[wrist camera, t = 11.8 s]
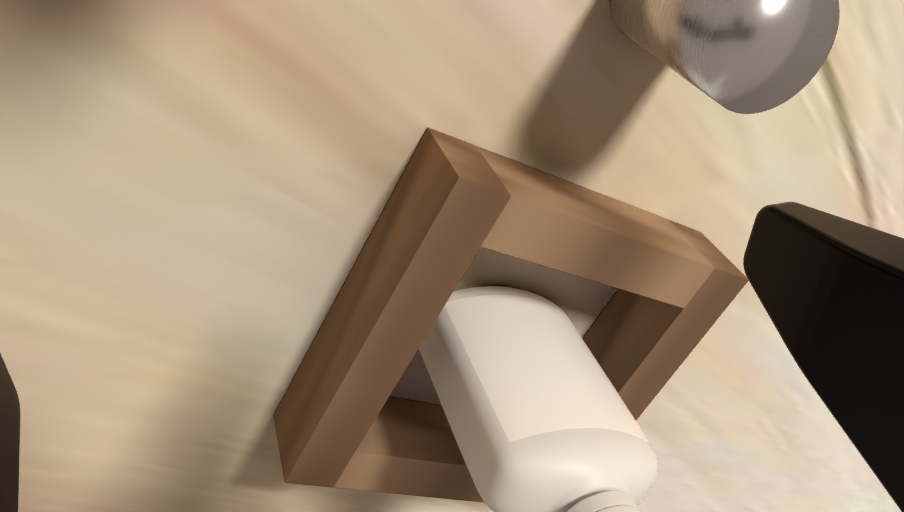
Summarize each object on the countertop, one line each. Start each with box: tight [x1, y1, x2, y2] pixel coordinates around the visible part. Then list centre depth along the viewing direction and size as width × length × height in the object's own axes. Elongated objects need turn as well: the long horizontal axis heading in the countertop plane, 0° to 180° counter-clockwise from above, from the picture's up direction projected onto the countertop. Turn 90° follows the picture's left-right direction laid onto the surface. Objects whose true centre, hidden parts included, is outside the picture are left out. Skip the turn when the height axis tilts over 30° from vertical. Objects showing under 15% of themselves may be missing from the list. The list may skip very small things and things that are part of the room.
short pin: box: [610, 0, 839, 114], centre depth 20 cm, size 4×4×5 cm
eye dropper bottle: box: [419, 286, 658, 512], centre depth 23 cm, size 4×6×12 cm
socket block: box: [274, 128, 748, 502], centre depth 27 cm, size 12×12×3 cm
